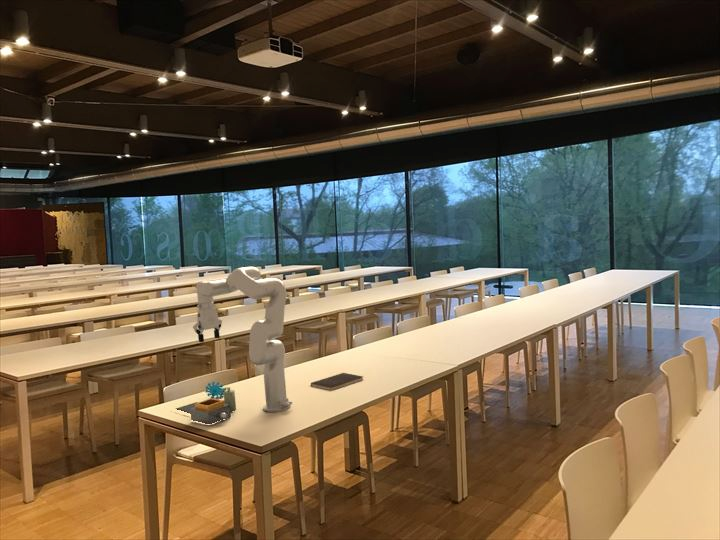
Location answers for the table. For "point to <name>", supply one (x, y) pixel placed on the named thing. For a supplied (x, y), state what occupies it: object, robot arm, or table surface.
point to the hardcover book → (337, 381)
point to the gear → (215, 390)
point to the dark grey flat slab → (187, 407)
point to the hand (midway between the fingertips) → (209, 339)
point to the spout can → (230, 398)
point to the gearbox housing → (210, 411)
